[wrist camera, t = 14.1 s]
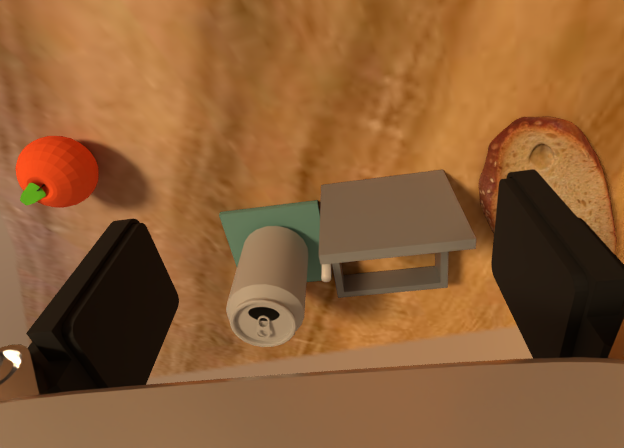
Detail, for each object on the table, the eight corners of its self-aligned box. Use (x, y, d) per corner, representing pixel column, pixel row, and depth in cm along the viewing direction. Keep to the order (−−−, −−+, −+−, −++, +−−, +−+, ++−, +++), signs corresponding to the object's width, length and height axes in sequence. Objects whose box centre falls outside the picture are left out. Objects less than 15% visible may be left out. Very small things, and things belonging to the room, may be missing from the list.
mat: (317, 200, 46) (317, 203, 45) (331, 276, 52) (331, 279, 51) (220, 212, 47) (219, 215, 47) (244, 284, 53) (244, 288, 53)
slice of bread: (592, 272, 51) (609, 294, 47) (445, 254, 50) (453, 275, 47) (684, 131, 41) (714, 147, 37) (502, 107, 40) (516, 121, 37)
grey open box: (442, 169, 43) (480, 246, 32) (442, 270, 51) (471, 359, 40) (321, 184, 45) (318, 263, 34) (337, 280, 52) (339, 369, 41)
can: (311, 224, 47) (306, 301, 37) (306, 275, 51) (300, 356, 41) (243, 218, 47) (220, 294, 37) (244, 269, 51) (223, 350, 41)
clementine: (78, 201, 47) (42, 239, 41) (23, 155, 44) (-25, 188, 38) (124, 163, 44) (92, 197, 38) (68, 111, 41) (24, 139, 35)
